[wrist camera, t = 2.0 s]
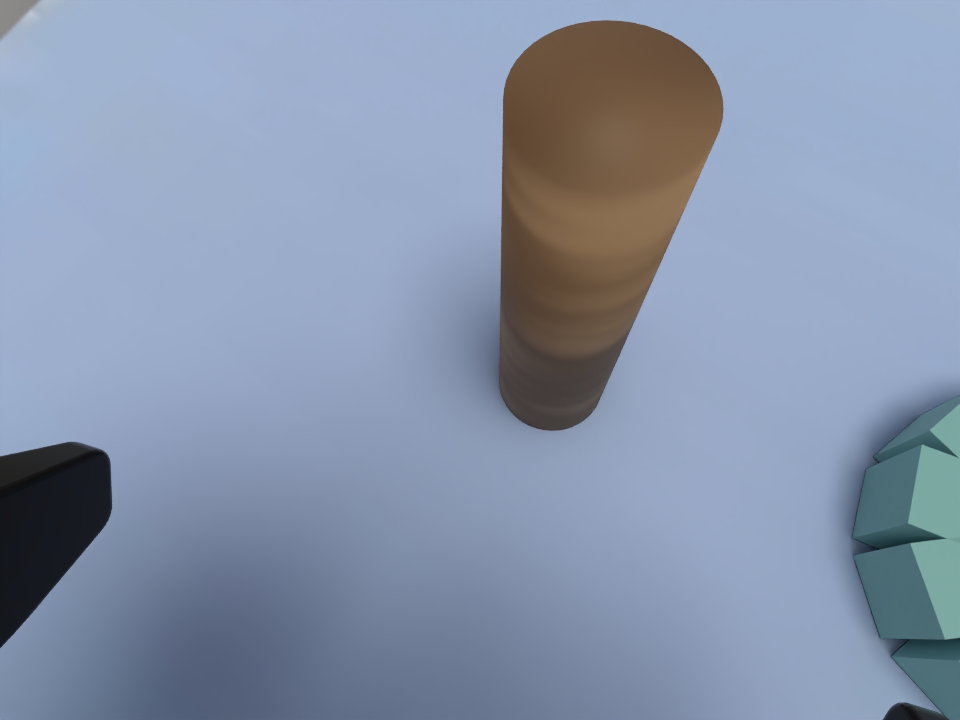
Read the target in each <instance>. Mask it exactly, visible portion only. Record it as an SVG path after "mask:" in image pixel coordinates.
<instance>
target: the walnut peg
mask: <svg viewBox="0 0 960 720" xmlns="http://www.w3.org/2000/svg"><path fill="white" fill-rule="evenodd" d="M722 118H723V99H722V95H721V91H720V87H719V85H718V82H717V80H716V78H715V76H714V74H713V73H712V71H711V69H710V68H709V66H708V65H707V64H706V63H705V62H704V60H703V59H702V58H701V57H700V56H699V55H698V54H697V53H696V52H695V51H693V50H692V49H691V48H690V47H688V46H687V45H686V44H684V43H683V42H681V41H680V40H678V39H676V38H674V37H673V36H671V35H669V34H667V33H664V32H662V31H660V30H657V29H654V28H651V27H648V26H645V25H640V24H636V23H631V22H623V21H606V20H605V21H591V22H584V23H578V24H574V25H570V26H567V27H564V28H561V29H558V30H556V31H554V32H552V33H550V34H548V35H546V36H544V37H542V38H541V39H539V40H538V41H536V42H534V43H533V44H532V45H531V46H530V47H529V48H527V49H526V50H525V51H524V52H523V53H522V54H521V56H520V57H519V58H518V59H517V60H516V62H515V64H514V65H513V67H512V68H511V70H510V73H509V75H508V77H507V80H506V84H505V88H504V97H503V157H502V226H501V296H500V365H499V384H500V391H501V395H502V397H503V400H504V402H505V404H506V406H507V407H508V408H509V410H510V411H511V412H512V413H513V414H514V415H515V416H516V417H517V418H518V419H519V420H521V421H522V422H524V423H526V424H528V425H530V426H532V427H535V428H538V429H543V430H562V429H567V428H570V427H573V426H575V425H577V424H579V423H580V422H582V421H584V420H585V419H586V418H587V417H588V416H589V415H590V414H591V413H592V412H593V411H594V409H595V408H596V406H597V404H598V402H599V400H600V397H601V395H602V393H603V391H604V388H605V386H606V384H607V382H608V379H609V377H610V375H611V373H612V371H613V368H614V366H615V364H616V362H617V359H618V357H619V355H620V353H621V350H622V348H623V346H624V344H625V341H626V339H627V337H628V335H629V332H630V330H631V328H632V326H633V323H634V321H635V319H636V317H637V314H638V312H639V310H640V308H641V306H642V303H643V301H644V299H645V297H646V294H647V292H648V290H649V288H650V285H651V283H652V281H653V279H654V276H655V274H656V272H657V270H658V267H659V265H660V263H661V261H662V258H663V256H664V254H665V252H666V249H667V247H668V245H669V243H670V241H671V238H672V236H673V234H674V232H675V229H676V227H677V225H678V223H679V220H680V218H681V216H682V214H683V211H684V209H685V207H686V205H687V202H688V200H689V198H690V196H691V193H692V191H693V189H694V187H695V184H696V182H697V180H698V178H699V176H700V173H701V171H702V169H703V167H704V164H705V162H706V160H707V158H708V155H709V153H710V151H711V149H712V146H713V144H714V142H715V140H716V137H717V135H718V133H719V131H720V127H721V123H722Z"/></svg>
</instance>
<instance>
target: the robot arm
mask: <svg viewBox="0 0 960 720" xmlns="http://www.w3.org/2000/svg"><path fill="white" fill-rule="evenodd" d="M111 510H112V488H111V464H110V459H109V457H108V455H107V453H106V452H104V451H103V450H101V449H98V448H95V447H92V446H89V445H85V444H82V443H78V442H66V443H62V444H57V445H52V446H47V447H43V448H38V449H33V450H29V451H24V452H19V453H14V454H10V455H5V456H0V648H1V647H2V646H3V645H4V644H5V643H6V642H7V641H8V640H9V639H10V637H11V636H12V635H13V634H14V633H15V632H16V631H17V630H18V629H19V627H20V626H21V625H22V624H23V623H24V622H25V621H26V620H27V618H28V617H29V616H30V615H31V614H32V613H33V611H34V610H35V609H36V608H37V607H38V605H39V604H40V603H41V602H42V601H43V599H44V598H45V597H46V596H47V595H48V594H49V592H50V591H51V590H52V589H53V588H54V586H55V585H56V584H57V583H58V582H59V580H60V579H61V578H62V577H63V576H64V574H65V573H66V572H67V571H68V570H69V569H70V567H71V566H72V565H73V564H74V563H75V561H76V560H77V559H78V558H79V557H80V555H81V554H82V553H83V552H84V551H85V549H86V548H87V547H88V546H89V545H90V544H91V542H92V541H93V540H94V539H95V538H96V536H97V535H98V534H99V533H100V532H101V530H102V529H103V528H104V526H105V525H106V523H107V521H108V519H109V517H110V514H111ZM883 720H949V719H948V718H947V717H946V716H944V715H942V714H940V713H938V712H935V711H932V710H928V709H925V708H922V707H919V706H916V705H912V704H909V703H897V704H895V705H893V706H892V707H891V708H890V709H889V711H888V712H887V714H886V715H885V717H884V719H883Z"/></svg>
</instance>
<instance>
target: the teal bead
mask: <svg viewBox="0 0 960 720" xmlns="http://www.w3.org/2000/svg"><path fill="white" fill-rule="evenodd" d="M873 457H874V458H875V459H876V460H877V461H878V462H879V464H876V465H874V466H872V467H869V468H867V469H866V473H865V477H864V482H863V487H862V492H861V497H860V502H859V506H858V511H857V516H856V521H855V526H854V530H853V535H852V538H853V539H856V540H858V541H861V542H863V543H866V544H868V545H871V546H873V547H876V548H878V549H880V550H876V551H871V552H866V553H862V554H857V555H853V556H854V559H855V562H856V565H857V568H858V571H859V575H860V578H861V581H862V584H863V587H864V590H865V593H866V596H867V599H868V602H869V605H870V608H871V611H872V614H873V617H874V620H875V623H876V626H877V629H878V632H879V635H880V638H881V639H909V640H908V641H907V642H906V643H905V644H904V645H903V646H902V647H901V648H900V649H899V650H898V651H897V652H896V653H895V654H894V655H892V656H891V657H892V658H893V659H894V660H895V661H896V662H897V664H898V665H899V666H900V667H901V668H902V669H903V670H904V671H905V672H906V673H907V675H908V676H909V677H910V678H911V679H912V680H913V681H914V682H915V683H916V684H917V686H918V687H919V688H920V689H921V690H922V691H923V692H924V693H925V694H926V695H927V697H928V698H929V699H930V700H931V701H932V702H933V703H934V704H935V705H936V706H937V708H938V709H939V710H940V711H941V712H942V713H943V714H944V715H945V716H946V717H947V718H948V719H949V720H960V395H959V396H957V397H955V398H953V399H951V400H949V401H947V402H945V403H943V404H941V405H939V406H937V407H935V408H933V409H931V410H929V411H927V412H925V413H923V414H921V415H920V416H919V417H918V418H917V419H916V420H914V421H913V422H912V423H911V424H910V425H909V426H908V427H906V428H905V429H904V430H903V431H902V432H901V433H900V434H898V435H897V436H896V437H895V438H894V439H893V440H892V441H890V442H889V443H888V444H887V445H886V446H885V447H884V448H882V449H881V450H880V451H879V452H878V453H877V454H876V455H875V456H873Z"/></svg>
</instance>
